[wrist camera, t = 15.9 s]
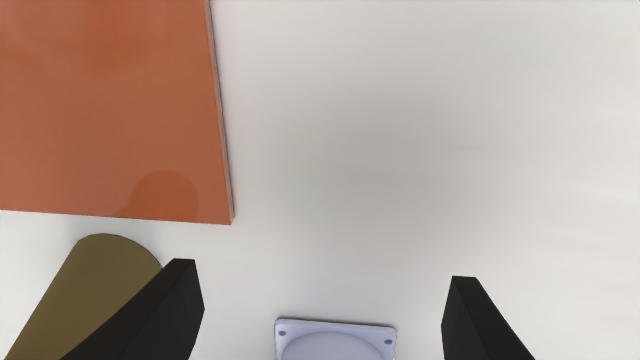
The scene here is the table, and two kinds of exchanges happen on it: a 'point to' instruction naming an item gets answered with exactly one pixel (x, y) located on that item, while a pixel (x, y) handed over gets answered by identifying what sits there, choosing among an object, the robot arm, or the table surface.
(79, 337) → the cork
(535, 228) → the table surface
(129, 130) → the tile
